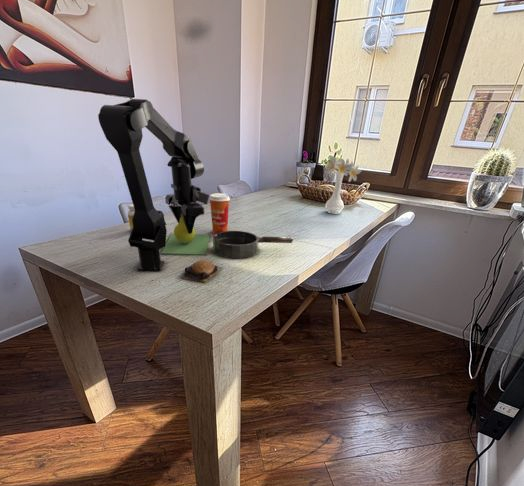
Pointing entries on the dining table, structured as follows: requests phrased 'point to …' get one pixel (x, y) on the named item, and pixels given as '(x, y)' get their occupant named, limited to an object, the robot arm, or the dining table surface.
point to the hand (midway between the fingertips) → (186, 230)
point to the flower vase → (339, 182)
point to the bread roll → (200, 271)
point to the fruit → (183, 233)
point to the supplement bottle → (131, 215)
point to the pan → (235, 244)
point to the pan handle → (274, 239)
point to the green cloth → (187, 246)
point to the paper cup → (219, 212)
